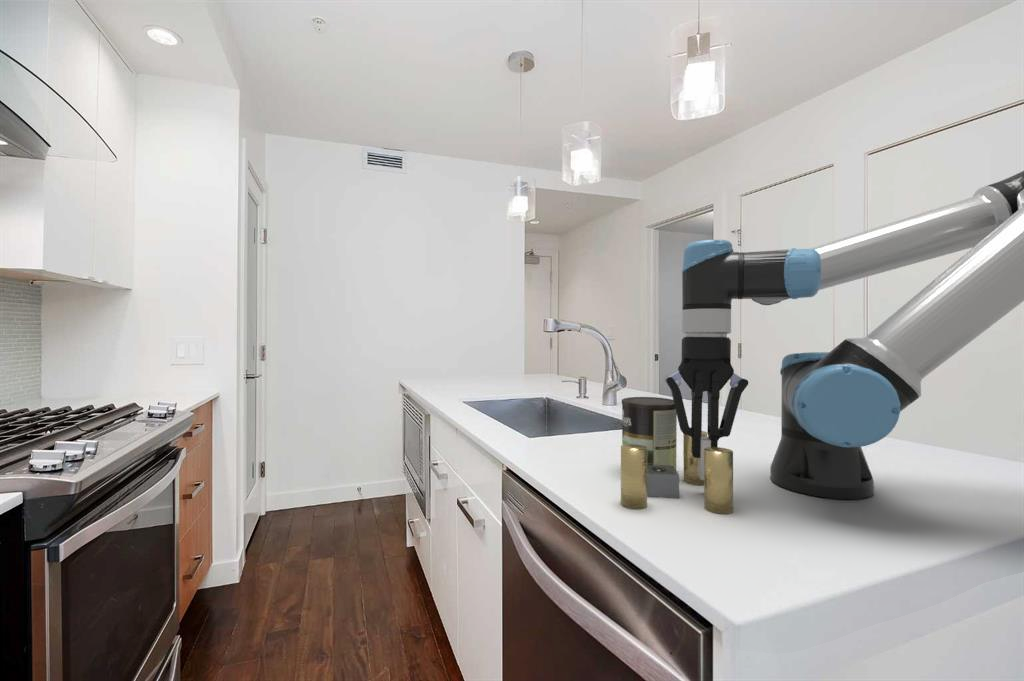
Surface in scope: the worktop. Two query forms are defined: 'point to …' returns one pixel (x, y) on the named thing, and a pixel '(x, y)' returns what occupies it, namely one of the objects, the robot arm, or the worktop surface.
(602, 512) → the worktop surface
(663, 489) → the grey square block
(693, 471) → the brass spacer
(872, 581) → the worktop surface
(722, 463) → the brass spacer
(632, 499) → the brass spacer
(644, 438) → the coffee can
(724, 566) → the worktop surface
